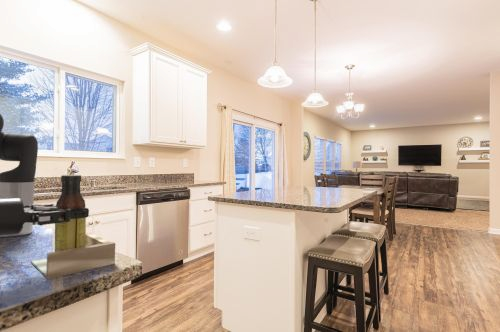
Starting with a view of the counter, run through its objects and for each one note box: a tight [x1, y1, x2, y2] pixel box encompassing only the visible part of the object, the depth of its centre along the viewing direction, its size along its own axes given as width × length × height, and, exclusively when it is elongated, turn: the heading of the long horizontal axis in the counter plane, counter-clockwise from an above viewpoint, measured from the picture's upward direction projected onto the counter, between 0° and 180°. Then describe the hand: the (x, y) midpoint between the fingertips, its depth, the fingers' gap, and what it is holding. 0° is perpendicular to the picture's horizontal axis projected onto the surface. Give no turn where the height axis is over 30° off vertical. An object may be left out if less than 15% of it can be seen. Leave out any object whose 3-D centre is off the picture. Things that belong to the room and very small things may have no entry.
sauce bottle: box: [54, 174, 87, 252], centre depth 66 cm, size 7×6×20 cm
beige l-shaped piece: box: [30, 232, 116, 280], centre depth 67 cm, size 14×14×5 cm
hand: (82, 210), depth 68 cm, fingers closed on sauce bottle, 6 cm apart
